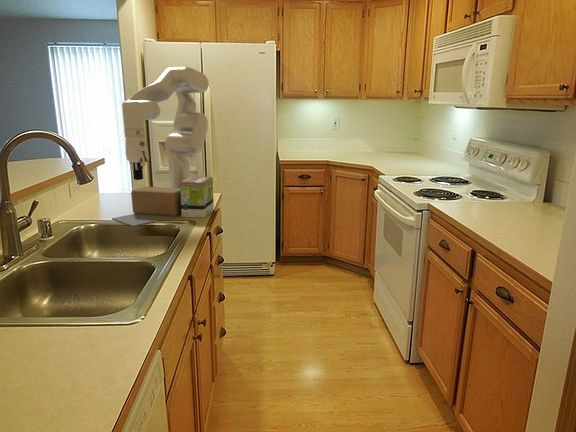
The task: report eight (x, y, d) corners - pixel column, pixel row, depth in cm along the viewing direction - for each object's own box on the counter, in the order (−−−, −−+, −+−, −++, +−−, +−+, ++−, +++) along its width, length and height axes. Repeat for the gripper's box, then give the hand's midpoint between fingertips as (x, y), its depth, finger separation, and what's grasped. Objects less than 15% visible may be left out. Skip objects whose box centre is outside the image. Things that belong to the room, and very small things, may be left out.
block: (132, 214, 181) (175, 217, 176) (129, 190, 178) (174, 192, 174) (145, 208, 190) (187, 211, 185) (143, 186, 188) (185, 188, 183)
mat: (160, 209, 190) (160, 208, 190) (182, 215, 179) (182, 214, 179) (111, 219, 174) (111, 218, 174) (132, 226, 164) (132, 225, 163)
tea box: (205, 218, 176) (203, 182, 173) (181, 217, 177) (178, 181, 173) (214, 209, 191) (213, 176, 187) (192, 209, 191) (190, 175, 188)
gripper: (153, 133, 169) (156, 180, 174) (133, 132, 179) (137, 176, 183) (135, 134, 164) (139, 182, 168) (116, 133, 174) (120, 178, 178)
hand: (138, 179), depth 176 cm, fingers closed
